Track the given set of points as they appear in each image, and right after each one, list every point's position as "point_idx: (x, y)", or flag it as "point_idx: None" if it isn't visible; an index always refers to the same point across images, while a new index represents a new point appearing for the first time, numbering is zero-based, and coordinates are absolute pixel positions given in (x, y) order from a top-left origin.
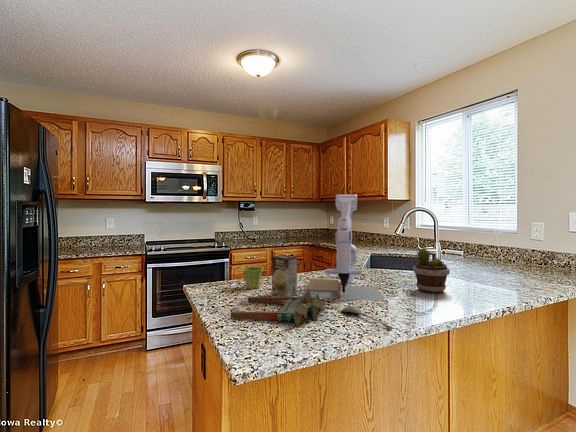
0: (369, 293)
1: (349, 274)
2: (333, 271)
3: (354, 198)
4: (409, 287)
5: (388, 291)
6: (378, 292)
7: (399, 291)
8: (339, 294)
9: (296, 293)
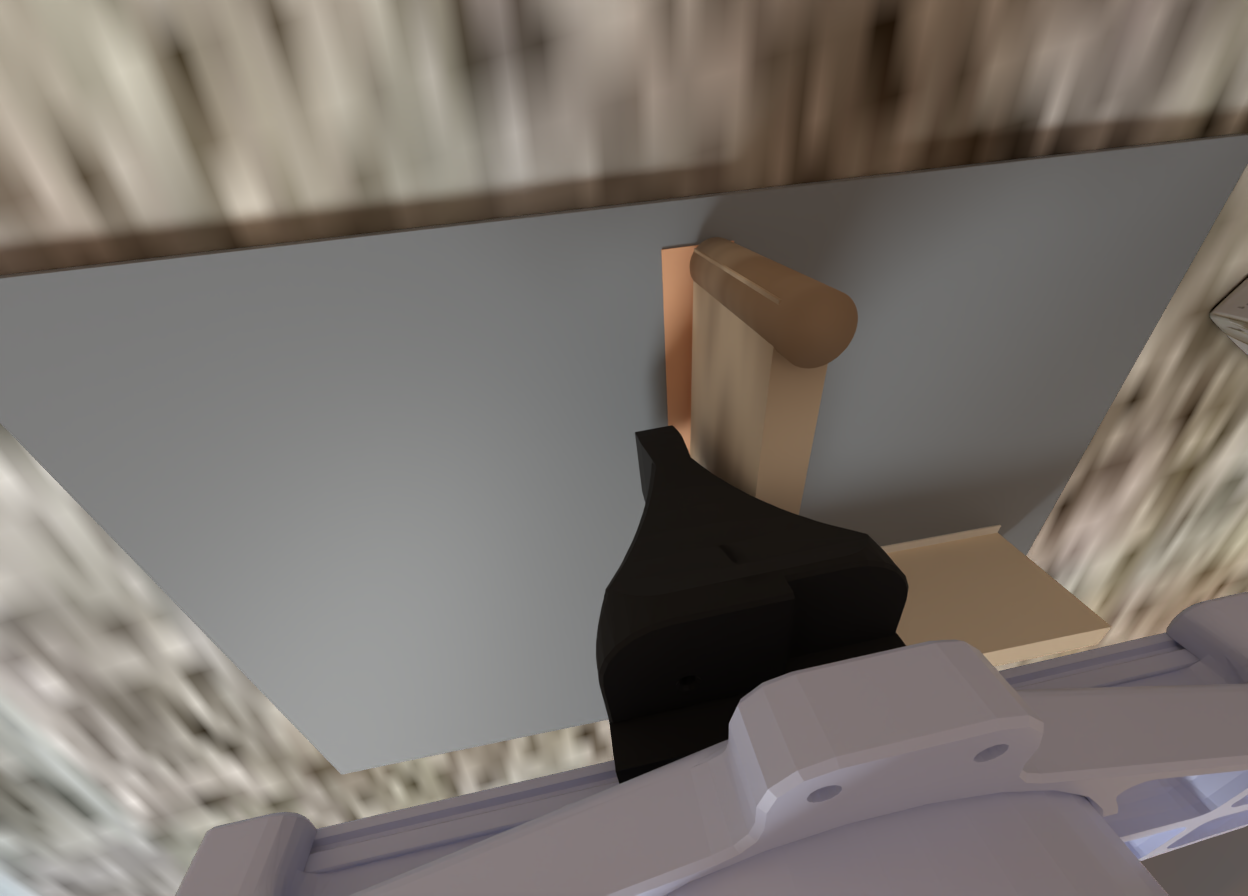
0: (332, 588)
1: (603, 763)
2: (1212, 706)
3: None
4: (66, 861)
5: (189, 730)
6: (242, 651)
7: (77, 762)
8: (730, 245)
9: (1238, 316)
